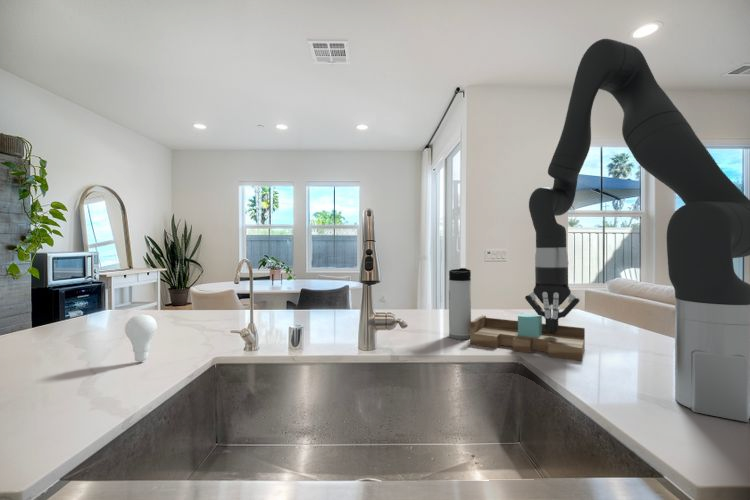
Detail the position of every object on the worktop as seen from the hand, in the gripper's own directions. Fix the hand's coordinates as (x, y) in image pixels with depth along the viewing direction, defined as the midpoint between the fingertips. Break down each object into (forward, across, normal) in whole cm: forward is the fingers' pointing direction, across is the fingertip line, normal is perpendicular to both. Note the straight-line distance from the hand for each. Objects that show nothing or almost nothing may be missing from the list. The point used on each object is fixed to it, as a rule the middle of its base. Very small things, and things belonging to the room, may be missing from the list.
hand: (552, 332), depth 89 cm
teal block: (+1, -5, 0) cm, 5 cm away
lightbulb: (+4, -77, -64) cm, 100 cm away
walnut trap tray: (+4, -6, -2) cm, 8 cm away
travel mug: (+4, -24, -1) cm, 24 cm away
